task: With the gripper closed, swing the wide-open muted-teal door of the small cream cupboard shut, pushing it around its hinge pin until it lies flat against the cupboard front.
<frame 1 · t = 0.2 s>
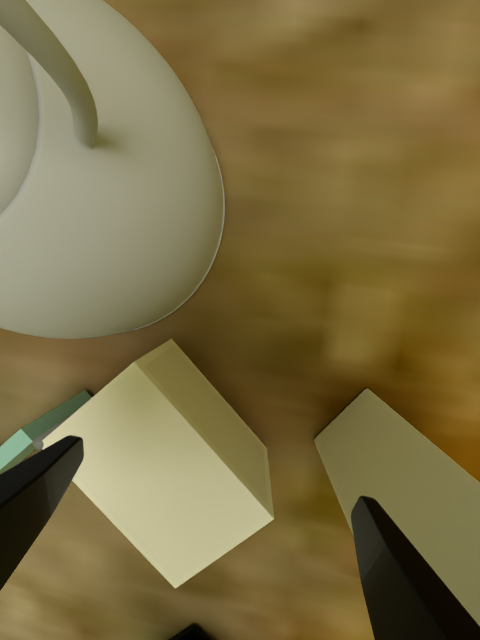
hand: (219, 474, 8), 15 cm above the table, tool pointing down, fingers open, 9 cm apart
door: (7, 449, 21), point 4 cm above the table, hinge at 90.0°
kettle: (87, 207, 23), on the table
milk carton: (364, 436, 24), on the table
cupboard: (185, 422, 24), on the table
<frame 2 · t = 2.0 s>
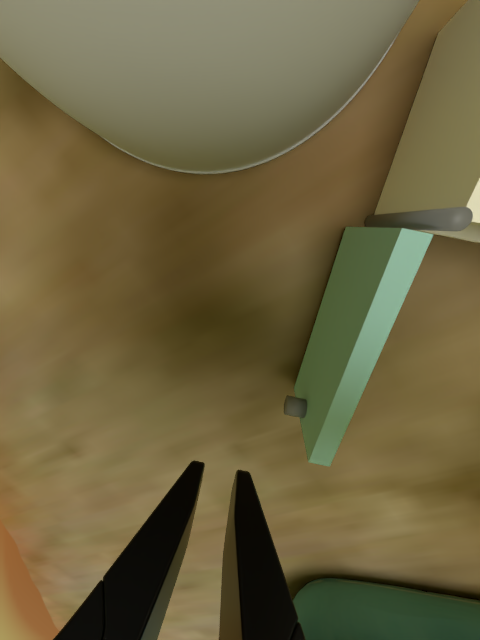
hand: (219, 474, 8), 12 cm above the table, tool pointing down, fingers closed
door: (328, 337, 15), point 4 cm above the table, hinge at 90.0°
casserole dish: (399, 619, 32), on the table
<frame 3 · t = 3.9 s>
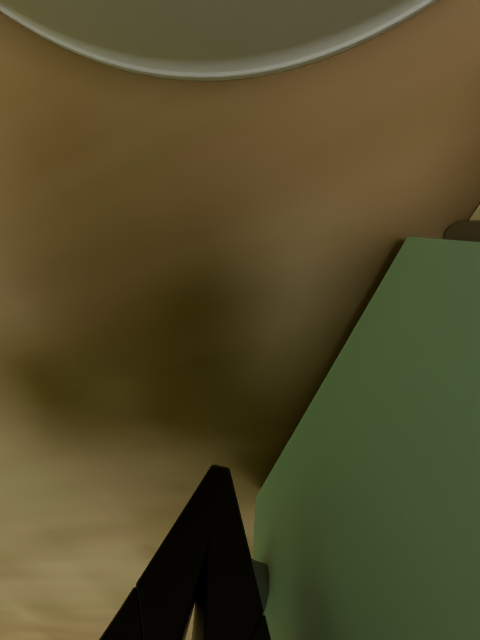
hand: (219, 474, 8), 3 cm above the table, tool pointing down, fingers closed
door: (337, 482, 6), point 4 cm above the table, hinge at 88.6°, touching gripper
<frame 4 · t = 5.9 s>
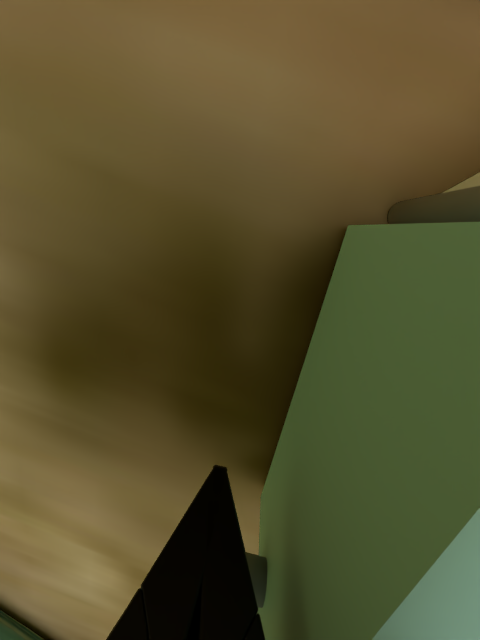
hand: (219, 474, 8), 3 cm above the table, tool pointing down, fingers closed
door: (305, 468, 7), point 4 cm above the table, hinge at 41.6°, touching gripper
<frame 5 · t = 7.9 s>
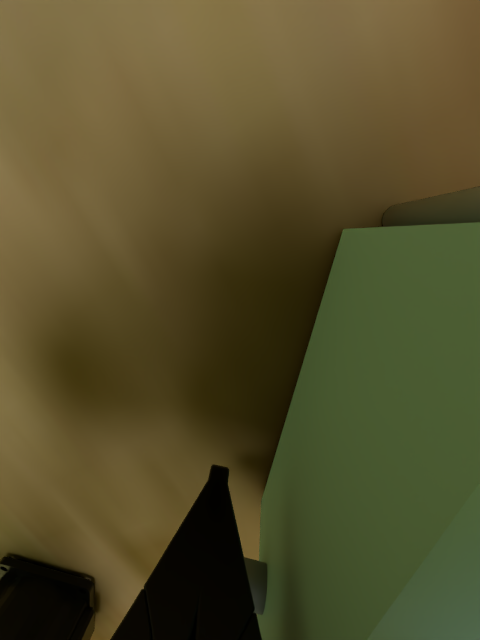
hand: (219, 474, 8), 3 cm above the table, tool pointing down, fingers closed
door: (304, 471, 7), point 4 cm above the table, hinge at -1.8°, touching cupboard, gripper
cupboard: (434, 425, 10), on the table
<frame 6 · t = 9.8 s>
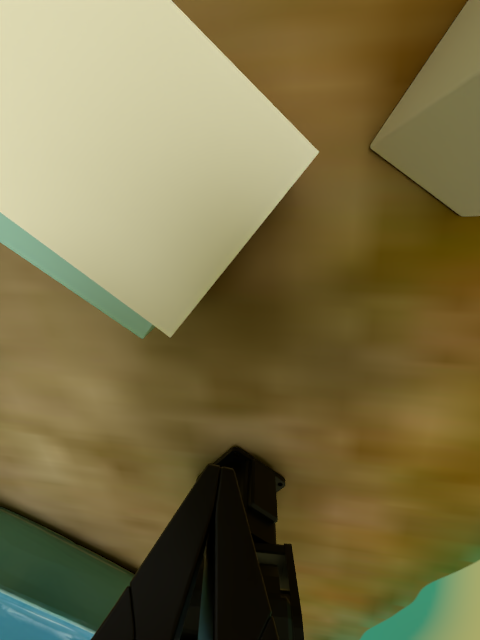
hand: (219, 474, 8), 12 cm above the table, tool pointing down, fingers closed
door: (73, 247, 14), point 4 cm above the table, hinge at -1.7°
casserole dish: (55, 564, 35), on the table
milk carton: (461, 121, 14), on the table
cupboard: (158, 168, 16), on the table
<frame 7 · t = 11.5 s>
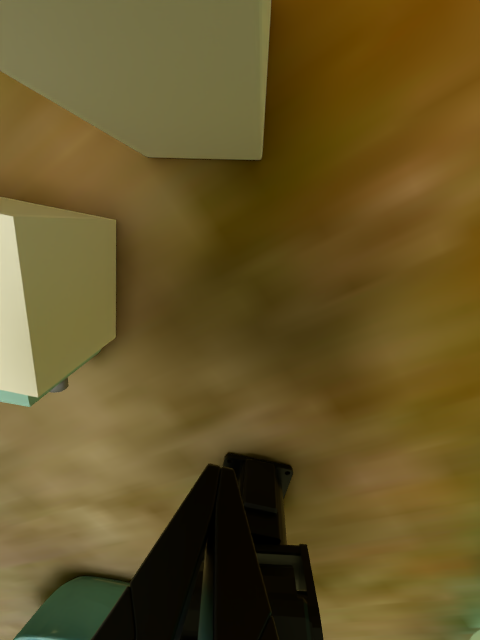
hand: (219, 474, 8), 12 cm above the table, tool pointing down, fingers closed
casserole dish: (163, 615, 37), on the table
milk carton: (204, 88, 14), on the table
cupboard: (24, 265, 19), on the table
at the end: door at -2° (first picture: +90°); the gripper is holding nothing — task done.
